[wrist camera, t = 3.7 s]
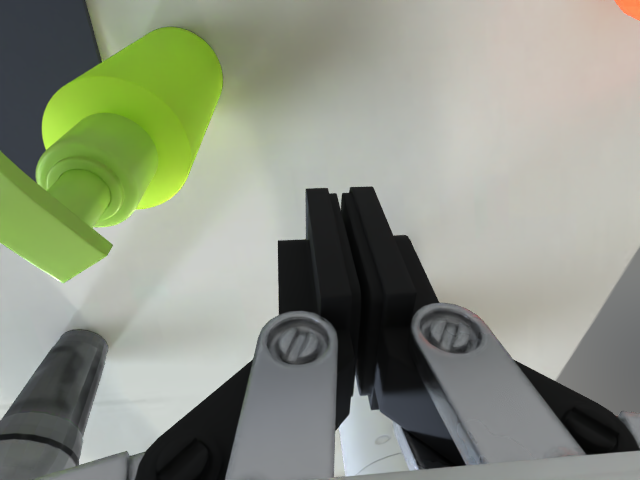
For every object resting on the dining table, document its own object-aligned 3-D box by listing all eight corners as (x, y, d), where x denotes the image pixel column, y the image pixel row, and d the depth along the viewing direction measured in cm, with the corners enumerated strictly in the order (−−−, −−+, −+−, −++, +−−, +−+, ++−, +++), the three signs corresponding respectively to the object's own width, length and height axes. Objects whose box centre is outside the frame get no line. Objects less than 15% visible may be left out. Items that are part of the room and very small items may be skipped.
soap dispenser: (170, -10, 26) (-21, 56, 9) (240, 88, 29) (193, 263, 13) (100, 46, 27) (-177, 191, 10) (175, 133, 30) (57, 343, 14)
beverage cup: (35, 318, 39) (-139, 582, 23) (117, 320, 40) (8, 574, 24) (52, 368, 43) (-85, 624, 27) (126, 370, 44) (38, 616, 28)
